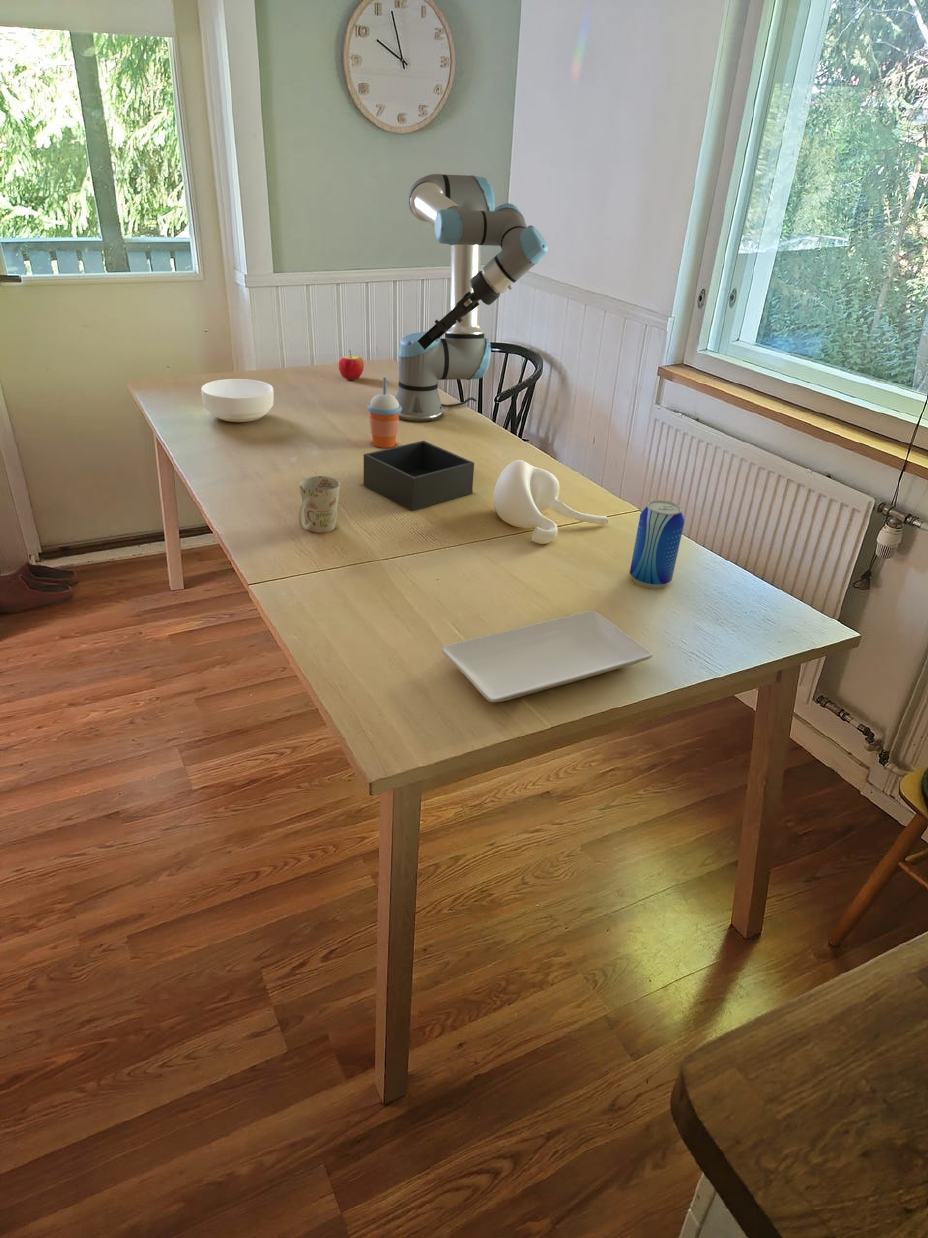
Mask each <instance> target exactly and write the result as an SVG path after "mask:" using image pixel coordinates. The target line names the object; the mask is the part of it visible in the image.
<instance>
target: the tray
mask: <svg viewBox="0 0 928 1238" xmlns="http://www.w3.org/2000/svg"><path fill="white" fill-rule="evenodd" d="M441 653H442V654H443V655H444V656H445V657H446V658H447V659H448V660H449V661H450V662H451V663H452V664H453V665H454V666H455V667H456V668H457V669H458V670H459V671H460V673H462V675H463V676H465V677H466V678H467V680H468V681H469V682H470V683H471V685H473V687H474V688H475V689H476V690H477V691H478V692H479V693H480V694H481V695H482V697H483V698H484V699H486V701H488V702H489V703H502V702H503V703H504V702H508V701H511V700H514V699H518V698H520V697H525V696H527V695H528V696H529V695H531V694H535V693H539V692H542V691H544V690H549V689H553V688H555V687H560V686H564V685H566V684H570V683H573V682H577V681H580V680H584V679H587V678H590V677H594V676H598V675H601V674H606V673H608V672H613V671H615V670H619V669H622V668H623V669H624V668H626V667H629V666H632V665H636V664H639V663H643V662H645V661H647V660H649V659H651V658H653V653H652V652H651V651H650V650H649V649H647V648H646V647H645V646H643V645H642V644H641V643H639V642H638V641H637V640H635V639H634V638H633V637H631V636H630V635H629V634H628V633H626V632H625V631H624V630H622V629H620V628H619V627H618V626H617V625H616V624H614V623H612V622H611V621H610V620H608V619H607V618H606V617H605V616H603V615H602V614H600V613H599V612H597V611H595V610H586V611H582V612H578V613H575V614H571V615H567V616H562V617H558V618H554V619H551V620H546V621H542V622H538V623H534V624H529V625H526V626H522V627H517V628H513V629H509V630H504V631H500V632H497V633H492V634H488V635H483V636H480V637H475V638H471V639H467V640H463V641H458V642H454V643H450V644H447V645H444V646H442V647H441Z"/></svg>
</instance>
